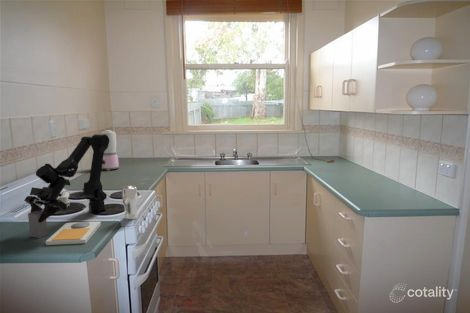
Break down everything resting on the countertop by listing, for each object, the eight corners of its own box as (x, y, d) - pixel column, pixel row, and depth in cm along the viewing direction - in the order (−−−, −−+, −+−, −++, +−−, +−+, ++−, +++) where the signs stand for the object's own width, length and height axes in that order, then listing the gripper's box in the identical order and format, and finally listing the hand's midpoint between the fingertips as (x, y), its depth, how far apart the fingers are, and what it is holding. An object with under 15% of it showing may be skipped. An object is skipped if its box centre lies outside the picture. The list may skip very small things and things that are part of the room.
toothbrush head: (70, 189, 197) (68, 194, 174) (71, 200, 197) (69, 207, 175) (60, 190, 195) (57, 196, 172) (61, 202, 195) (58, 208, 172)
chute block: (39, 232, 142) (36, 210, 140) (47, 234, 140) (45, 211, 139) (30, 236, 138) (27, 213, 137) (39, 238, 137) (36, 214, 135)
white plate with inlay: (66, 225, 150) (66, 222, 150) (101, 224, 151) (100, 220, 151) (46, 244, 130) (45, 240, 130) (85, 243, 131) (85, 238, 131)
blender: (113, 167, 282) (110, 129, 276) (122, 168, 275) (119, 130, 269) (96, 170, 269) (93, 131, 263) (105, 172, 262) (102, 131, 256)
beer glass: (129, 214, 164) (127, 184, 162) (141, 215, 162) (139, 185, 160) (120, 219, 158) (118, 188, 155) (133, 220, 156) (131, 189, 153)
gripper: (25, 177, 142) (3, 210, 134) (58, 180, 136) (36, 215, 128) (44, 190, 151) (24, 222, 143) (75, 194, 144) (56, 227, 136)
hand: (34, 221), depth 137 cm, fingers closed on chute block, 5 cm apart
